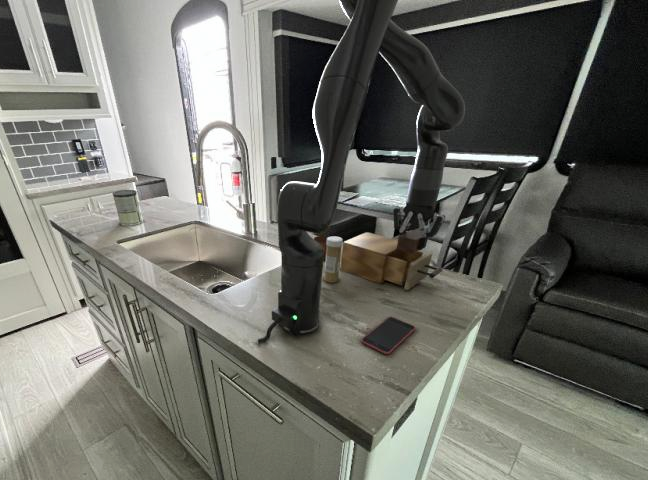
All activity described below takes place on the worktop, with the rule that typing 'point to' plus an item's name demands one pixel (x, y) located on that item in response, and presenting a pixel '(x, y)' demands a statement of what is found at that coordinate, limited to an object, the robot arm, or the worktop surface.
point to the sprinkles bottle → (333, 258)
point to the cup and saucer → (322, 243)
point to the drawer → (408, 268)
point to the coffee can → (128, 207)
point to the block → (409, 241)
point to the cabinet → (367, 255)
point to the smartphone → (388, 335)
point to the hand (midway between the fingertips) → (410, 246)
